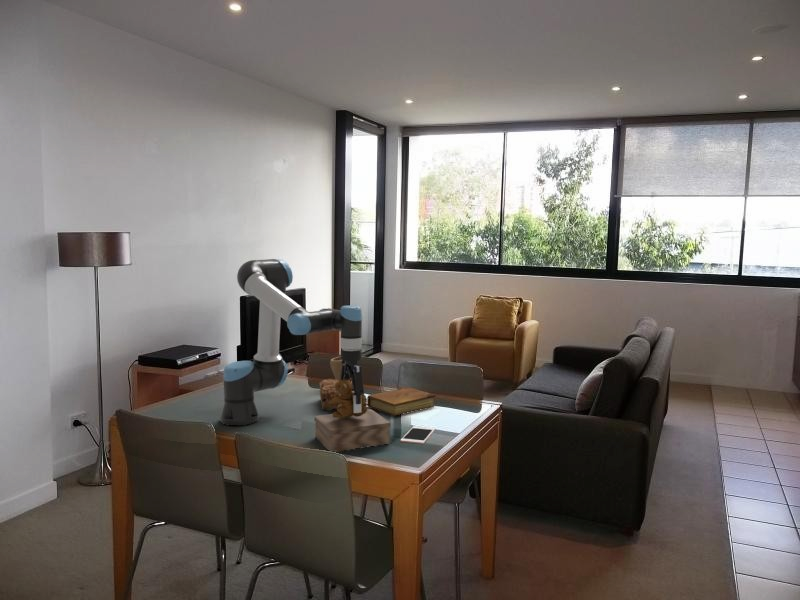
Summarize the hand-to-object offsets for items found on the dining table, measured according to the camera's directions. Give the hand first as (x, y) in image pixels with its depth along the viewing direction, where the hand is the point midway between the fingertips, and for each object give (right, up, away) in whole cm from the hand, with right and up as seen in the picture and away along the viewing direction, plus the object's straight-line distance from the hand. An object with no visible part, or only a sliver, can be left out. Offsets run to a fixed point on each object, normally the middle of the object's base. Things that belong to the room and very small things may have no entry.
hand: (351, 408), depth 231 cm
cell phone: (+24, -12, +8) cm, 28 cm away
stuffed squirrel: (0, -3, +1) cm, 3 cm away
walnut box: (0, -12, +1) cm, 12 cm away
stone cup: (-9, -4, +80) cm, 81 cm away
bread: (-12, -7, +49) cm, 51 cm away
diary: (+18, -8, +46) cm, 50 cm away
